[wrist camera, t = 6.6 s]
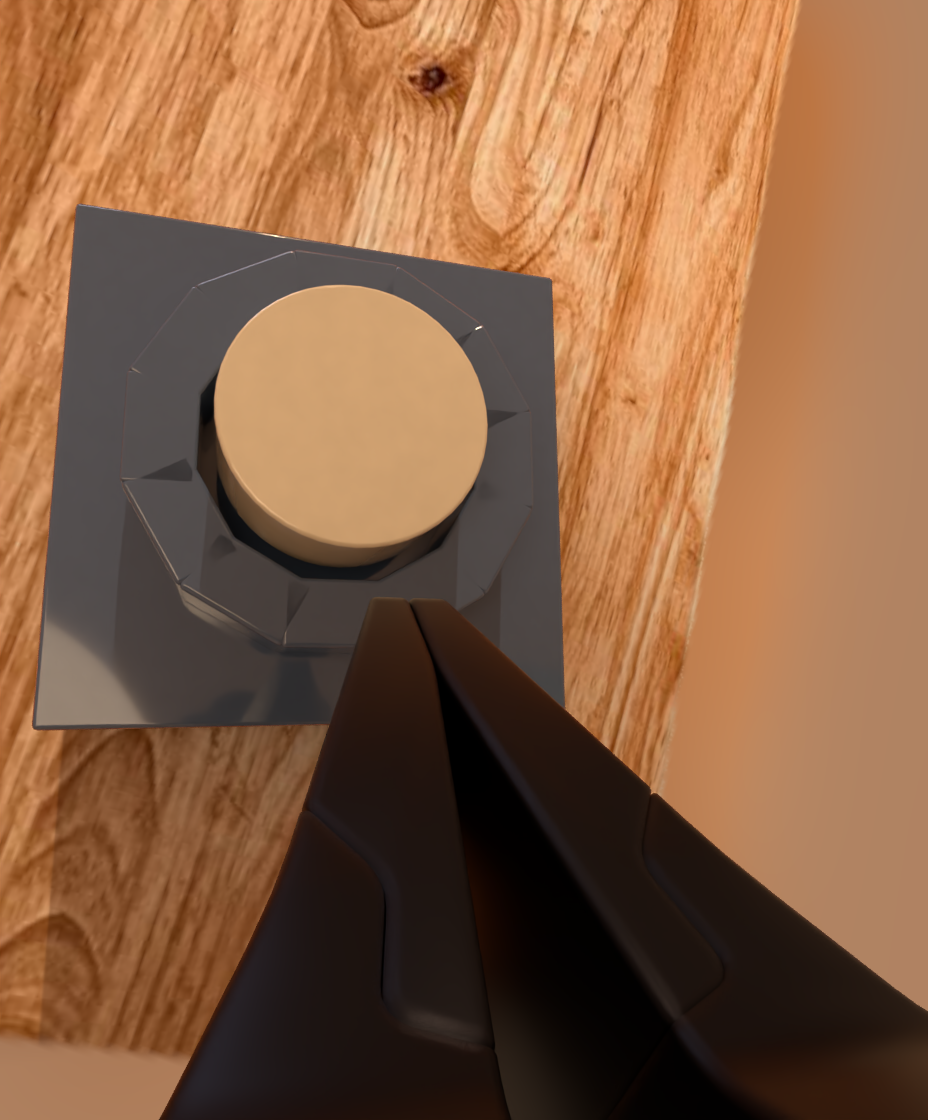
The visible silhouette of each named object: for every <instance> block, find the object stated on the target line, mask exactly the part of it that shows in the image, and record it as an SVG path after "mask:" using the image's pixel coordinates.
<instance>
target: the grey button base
mask: <svg viewBox="0 0 928 1120" xmlns="http://www.w3.org/2000/svg"><path fill="white" fill-rule="evenodd" d="M325 285H352V286H362V287H366V288H371V289H376V290H380V291H383V292H386V293H389V294H392V295H394V296H397V297H399V298H401V299H403V300H405V301H407V302H410V303H411V304H413V305H414V306H416V307H418V308H419V309H421V310H423V311H424V312H426V313H427V314H428V315H429V316H431V317H432V318H433V319H435V320H436V321H437V322H438V323H439V324H440V325H441V326H442V327H443V328H445V329H446V330H447V331H448V332H449V333H450V334H451V336H452V337H453V338H454V339H455V341H456V342H457V343H458V344H459V345H460V347H461V348H462V350H463V351H464V353H465V354H466V356H467V358H468V359H469V361H470V362H471V364H472V367H473V369H474V371H475V373H476V375H477V377H478V380H479V383H480V386H481V389H482V392H483V396H484V401H485V405H486V411H487V424H488V430H487V444H486V450H485V455H484V460H483V463H482V466H481V469H480V472H479V474H478V476H477V478H476V480H475V482H474V484H473V487H472V488H471V490H470V491H469V493H468V494H467V496H466V497H465V499H464V500H463V502H462V503H461V504H460V505H459V506H458V507H457V508H456V509H455V511H454V512H453V513H452V514H451V515H449V516H448V517H447V518H446V519H445V520H443V521H442V522H441V523H440V524H439V525H437V526H436V527H435V528H434V529H432V530H431V531H430V532H429V533H427V534H426V535H425V536H424V537H422V538H421V539H420V540H419V541H417V542H416V543H415V544H414V545H412V546H411V547H409V548H408V549H406V550H405V551H403V552H401V553H400V554H398V555H396V556H393V557H391V558H389V559H387V560H384V561H381V562H377V563H374V564H371V565H365V566H359V567H341V568H338V567H328V566H321V565H316V564H312V563H308V562H304V561H302V560H299V559H296V558H294V557H291V556H289V555H287V554H285V553H283V552H281V551H280V550H278V549H276V548H274V547H273V546H271V545H270V544H269V543H267V542H266V541H264V540H263V539H262V538H260V537H259V536H258V535H257V534H256V533H255V532H254V531H253V530H252V529H251V528H249V526H248V525H247V524H246V523H245V522H244V520H243V519H242V518H241V517H240V516H239V515H238V513H237V511H236V510H235V508H234V507H233V505H232V504H231V502H230V500H229V498H228V496H227V494H226V492H225V490H224V488H223V485H222V482H221V479H220V476H219V473H218V469H217V463H216V457H215V429H214V394H215V385H216V380H217V376H218V373H219V369H220V365H221V363H222V361H223V358H224V356H225V354H226V352H227V349H228V348H229V346H230V344H231V343H232V341H233V340H234V338H235V337H236V335H237V334H238V333H239V331H240V330H241V329H242V328H243V327H244V326H245V324H246V323H247V322H248V321H249V320H250V319H251V318H253V317H254V316H255V315H256V314H257V313H258V312H260V311H261V310H262V309H264V308H265V307H267V306H268V305H270V304H272V303H273V302H275V301H276V300H279V299H281V298H283V297H285V296H287V295H290V294H292V293H295V292H298V291H301V290H305V289H308V288H313V287H319V286H325ZM374 597H392V598H404V599H406V600H407V601H408V602H409V601H410V600H411V599H413V598H426V599H443V600H445V601H447V602H448V603H450V604H451V605H452V606H453V607H454V608H455V609H456V610H457V611H458V612H459V613H460V614H462V615H463V616H464V617H465V618H466V619H467V620H468V621H469V622H470V623H471V624H472V625H474V626H475V627H476V628H477V629H478V630H479V631H480V632H481V633H482V634H483V635H484V636H486V637H487V638H488V639H489V640H490V641H491V642H492V643H493V644H494V645H495V646H496V647H497V648H499V649H500V650H501V651H502V652H503V653H504V654H505V655H506V656H507V657H508V658H509V659H511V660H512V661H513V662H514V663H515V664H516V665H517V666H518V667H519V668H520V669H521V670H523V671H524V672H525V673H526V674H527V675H528V676H529V677H530V678H531V679H532V680H533V681H535V682H536V683H537V684H538V685H539V686H540V687H541V688H542V689H543V690H544V691H545V692H547V693H548V694H549V695H550V696H551V697H552V698H553V699H554V700H555V701H556V702H557V703H559V704H560V705H561V706H562V707H563V708H564V709H565V692H564V659H563V626H562V593H561V560H560V527H559V494H558V461H557V429H556V396H555V363H554V330H553V297H552V280H551V279H550V278H545V277H539V276H533V275H527V274H520V273H514V272H508V271H501V270H495V269H489V268H482V267H476V266H470V265H463V264H457V263H451V262H444V261H438V260H432V259H425V258H419V257H413V256H407V255H400V254H394V253H388V252H381V251H375V250H369V249H362V248H356V247H350V246H343V245H337V244H331V243H324V242H318V241H312V240H306V239H299V238H293V237H287V236H280V235H274V234H268V233H261V232H255V231H249V230H242V229H236V228H230V227H223V226H217V225H211V224H204V223H198V222H192V221H186V220H179V219H173V218H167V217H160V216H154V215H148V214H141V213H135V212H129V211H122V210H116V209H110V208H103V207H97V206H91V205H84V204H77V206H76V210H75V221H74V233H73V245H72V257H71V269H70V281H69V293H68V304H67V316H66V328H65V340H64V352H63V364H62V376H61V388H60V399H59V411H58V423H57V435H56V447H55V459H54V471H53V482H52V494H51V506H50V518H49V530H48V542H47V554H46V565H45V577H44V589H43V601H42V613H41V625H40V637H39V648H38V660H37V672H36V684H35V696H34V708H33V720H32V726H33V729H35V730H38V731H39V730H92V729H144V728H196V727H248V726H301V725H330V721H331V718H332V715H333V712H334V709H335V706H336V703H337V700H338V697H339V694H340V691H341V688H342V685H343V682H344V679H345V676H346V673H347V670H348V666H349V663H350V660H351V657H352V654H353V651H354V648H355V645H356V642H357V639H358V636H359V633H360V630H361V627H362V624H363V621H364V618H365V614H366V611H367V608H368V605H369V603H370V600H371V599H372V598H374Z"/></svg>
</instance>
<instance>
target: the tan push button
mask: <svg viewBox="0 0 928 1120" xmlns="http://www.w3.org/2000/svg"><path fill="white" fill-rule="evenodd" d="M214 429H215V457H216V463H217V469H218V473H219V476H220V479H221V482H222V485H223V488H224V490H225V492H226V494H227V496H228V498H229V500H230V502H231V504H232V505H233V507H234V508H235V510H236V511H237V513H238V515H239V516H240V517H241V518H242V519H243V520H244V522H245V523H246V524H247V525H248V526H249V528H251V529H252V530H253V531H254V532H255V533H256V534H257V535H258V536H259V537H260V538H262V539H263V540H264V541H266V542H267V543H269V544H270V545H271V546H273V547H274V548H276V549H278V550H280V551H281V552H283V553H285V554H287V555H289V556H291V557H294V558H296V559H299V560H302V561H304V562H308V563H312V564H316V565H321V566H328V567H338V568H341V567H359V566H365V565H371V564H374V563H377V562H381V561H384V560H387V559H389V558H391V557H393V556H396V555H398V554H400V553H401V552H403V551H405V550H406V549H408V548H409V547H411V546H412V545H414V544H415V543H416V542H417V541H419V540H420V539H421V538H422V537H424V536H425V535H426V534H427V533H429V532H430V531H431V530H432V529H434V528H435V527H436V526H437V525H439V524H440V523H441V522H442V521H443V520H445V519H446V518H447V517H448V516H449V515H451V514H452V513H453V512H454V511H455V509H456V508H457V507H458V506H459V505H460V504H461V503H462V502H463V500H464V499H465V497H466V496H467V494H468V493H469V491H470V490H471V488H472V487H473V484H474V482H475V480H476V478H477V476H478V474H479V472H480V469H481V466H482V463H483V460H484V455H485V450H486V444H487V430H488V424H487V411H486V405H485V401H484V396H483V392H482V389H481V386H480V383H479V380H478V377H477V375H476V373H475V371H474V369H473V367H472V364H471V362H470V361H469V359H468V358H467V356H466V354H465V353H464V351H463V350H462V348H461V347H460V345H459V344H458V343H457V342H456V341H455V339H454V338H453V337H452V336H451V334H450V333H449V332H448V331H447V330H446V329H445V328H443V327H442V326H441V325H440V324H439V323H438V322H437V321H436V320H435V319H433V318H432V317H431V316H429V315H428V314H427V313H426V312H424V311H423V310H421V309H419V308H418V307H416V306H414V305H413V304H411V303H410V302H407V301H405V300H403V299H401V298H399V297H397V296H394V295H392V294H389V293H386V292H383V291H380V290H376V289H371V288H366V287H362V286H352V285H325V286H319V287H313V288H308V289H305V290H301V291H298V292H295V293H292V294H290V295H287V296H285V297H283V298H281V299H279V300H276V301H275V302H273V303H272V304H270V305H268V306H267V307H265V308H264V309H262V310H261V311H260V312H258V313H257V314H256V315H255V316H254V317H253V318H251V319H250V320H249V321H248V322H247V323H246V324H245V326H244V327H243V328H242V329H241V330H240V331H239V333H238V334H237V335H236V337H235V338H234V340H233V341H232V343H231V344H230V346H229V348H228V349H227V352H226V354H225V356H224V358H223V361H222V363H221V365H220V369H219V373H218V376H217V380H216V385H215V394H214Z"/></svg>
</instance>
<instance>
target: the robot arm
mask: <svg viewBox="0 0 928 1120" xmlns="http://www.w3.org/2000/svg"><path fill="white" fill-rule="evenodd" d="M159 1120H928V1011H926V1010H925V1009H923V1008H922V1007H920V1006H918V1005H917V1004H915V1003H914V1002H913V1001H912V1000H910V999H909V998H907V997H906V996H905V995H903V994H902V993H901V992H899V991H898V990H896V989H895V988H894V987H892V986H891V985H890V984H889V983H887V982H886V981H885V980H883V979H882V978H881V977H880V976H878V975H877V974H876V973H874V972H873V971H872V970H871V969H869V968H868V967H867V966H866V965H864V964H863V963H862V962H860V961H859V960H858V959H857V958H855V957H854V956H853V955H851V954H850V953H849V952H848V951H846V950H845V949H844V948H842V947H841V946H840V945H838V944H837V943H836V942H835V941H833V940H832V939H831V938H830V937H828V936H827V935H826V934H824V933H823V932H822V931H821V930H819V929H818V928H817V927H816V926H814V925H813V924H812V923H810V922H809V921H808V920H806V919H805V918H804V917H803V916H801V915H800V914H799V913H798V912H796V911H795V910H794V909H793V908H791V907H790V906H789V905H787V904H786V903H785V902H784V901H782V900H781V899H780V898H778V897H777V896H776V895H775V894H773V893H772V892H771V891H770V890H768V889H767V888H766V887H765V886H763V885H762V884H761V883H760V882H758V881H757V880H756V879H755V878H754V877H752V876H751V875H750V874H749V873H747V872H746V871H745V870H744V869H742V868H741V867H740V866H739V865H738V864H736V863H735V862H734V861H733V860H731V859H730V858H729V857H728V856H726V855H725V854H724V853H723V852H722V851H720V849H718V848H717V847H716V846H715V845H714V844H713V843H711V842H710V841H709V840H708V839H707V838H706V837H705V836H704V835H702V834H701V833H700V832H699V831H698V830H697V829H696V828H694V827H693V826H692V825H691V824H690V823H689V822H688V821H686V820H685V819H684V818H683V817H682V816H681V815H680V814H679V813H678V812H677V811H675V810H674V809H673V808H672V807H671V806H670V805H669V804H668V803H667V802H666V801H665V800H663V799H662V798H661V797H660V796H659V795H658V794H656V793H653V794H651V789H650V787H649V786H648V785H647V784H646V783H645V782H644V781H642V780H641V779H640V778H639V777H638V776H637V775H636V774H635V773H634V772H633V771H632V770H630V769H629V768H628V767H627V766H626V765H625V764H624V763H623V762H622V761H621V760H620V759H618V758H617V757H616V756H615V755H614V754H613V753H612V752H611V751H610V750H609V749H608V748H606V747H605V746H604V745H603V744H602V743H601V742H600V741H599V740H598V739H597V738H596V737H594V736H593V735H592V734H591V733H590V732H589V731H588V730H587V729H586V728H585V727H584V726H582V725H581V724H580V723H579V722H578V721H577V720H576V719H575V718H574V717H573V716H572V715H570V714H569V713H568V712H567V711H566V710H565V709H564V708H563V707H562V706H561V705H560V704H559V703H557V702H556V701H555V700H554V699H553V698H552V697H551V696H550V695H549V694H548V693H547V692H545V691H544V690H543V689H542V688H541V687H540V686H539V685H538V684H537V683H536V682H535V681H533V680H532V679H531V678H530V677H529V676H528V675H527V674H526V673H525V672H524V671H523V670H521V669H520V668H519V667H518V666H517V665H516V664H515V663H514V662H513V661H512V660H511V659H509V658H508V657H507V656H506V655H505V654H504V653H503V652H502V651H501V650H500V649H499V648H497V647H496V646H495V645H494V644H493V643H492V642H491V641H490V640H489V639H488V638H487V637H486V636H484V635H483V634H482V633H481V632H480V631H479V630H478V629H477V628H476V627H475V626H474V625H472V624H471V623H470V622H469V621H468V620H467V619H466V618H465V617H464V616H463V615H462V614H460V613H459V612H458V611H457V610H456V609H455V608H454V607H453V606H452V605H451V604H450V603H448V602H447V601H445V600H443V599H426V598H413V599H411V600H410V601H409V602H408V601H407V600H406V599H404V598H392V597H374V598H372V599H371V600H370V603H369V605H368V608H367V611H366V614H365V618H364V621H363V624H362V627H361V630H360V633H359V636H358V639H357V642H356V645H355V648H354V651H353V654H352V657H351V660H350V663H349V666H348V670H347V673H346V676H345V679H344V682H343V685H342V688H341V691H340V694H339V697H338V700H337V703H336V706H335V709H334V712H333V715H332V718H331V721H330V725H329V728H328V731H327V734H326V737H325V740H324V743H323V746H322V749H321V752H320V755H319V758H318V761H317V764H316V767H315V770H314V773H313V777H312V780H311V783H310V786H309V789H308V792H307V795H306V798H305V801H304V804H303V807H302V812H301V813H300V815H299V818H298V821H297V824H296V827H295V830H294V833H293V836H292V839H291V842H290V845H289V848H288V851H287V854H286V856H285V859H284V862H283V864H282V867H281V870H280V872H279V875H278V878H277V880H276V883H275V886H274V888H273V891H272V894H271V896H270V898H269V900H268V902H267V904H266V907H265V909H264V911H263V913H262V915H261V917H260V920H259V922H258V924H257V926H256V928H255V930H254V933H253V935H252V937H251V939H250V941H249V943H248V945H247V948H246V950H245V952H244V954H243V956H242V958H241V960H240V962H239V964H238V966H237V968H236V970H235V972H234V974H233V976H232V978H231V980H230V982H229V984H228V985H227V987H226V989H225V991H224V993H223V995H222V997H221V999H220V1001H219V1003H218V1005H217V1007H216V1009H215V1011H214V1013H213V1015H212V1017H211V1019H210V1021H209V1023H208V1025H207V1027H206V1029H205V1031H204V1033H203V1035H202V1037H201V1039H200V1041H199V1043H198V1045H197V1047H196V1049H195V1051H194V1053H193V1055H192V1057H191V1059H190V1061H189V1063H188V1065H187V1067H186V1069H185V1071H184V1073H183V1074H182V1076H181V1079H180V1080H179V1083H178V1084H177V1086H176V1088H175V1090H174V1093H173V1094H172V1097H171V1098H170V1100H169V1102H168V1104H167V1106H166V1108H165V1110H164V1112H163V1113H162V1115H161V1117H160V1119H159Z"/></svg>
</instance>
